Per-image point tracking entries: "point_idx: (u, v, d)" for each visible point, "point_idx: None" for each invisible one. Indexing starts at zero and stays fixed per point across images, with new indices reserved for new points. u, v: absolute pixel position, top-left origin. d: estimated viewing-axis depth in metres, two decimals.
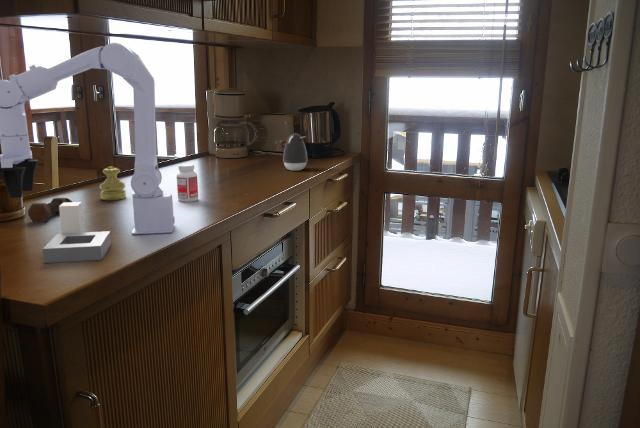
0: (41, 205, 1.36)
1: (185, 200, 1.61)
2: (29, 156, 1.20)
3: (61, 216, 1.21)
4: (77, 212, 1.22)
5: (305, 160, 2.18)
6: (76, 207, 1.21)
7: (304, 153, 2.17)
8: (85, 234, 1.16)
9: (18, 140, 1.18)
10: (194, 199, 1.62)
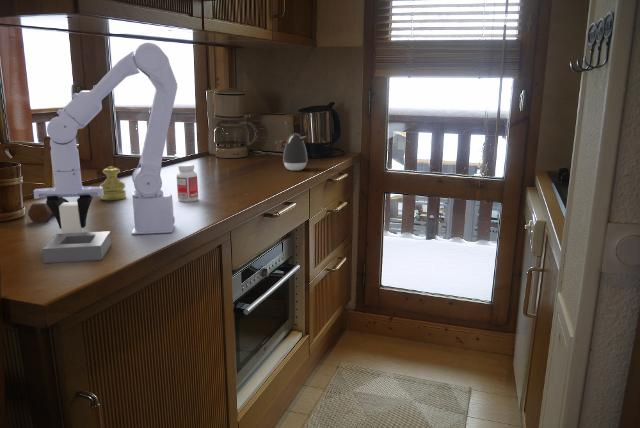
0: (42, 205, 1.36)
1: (185, 200, 1.61)
2: (61, 192, 1.19)
3: (61, 216, 1.21)
4: (77, 212, 1.22)
5: (305, 160, 2.18)
6: (76, 207, 1.21)
7: (304, 153, 2.17)
8: (85, 234, 1.16)
9: (53, 175, 1.19)
10: (194, 199, 1.62)
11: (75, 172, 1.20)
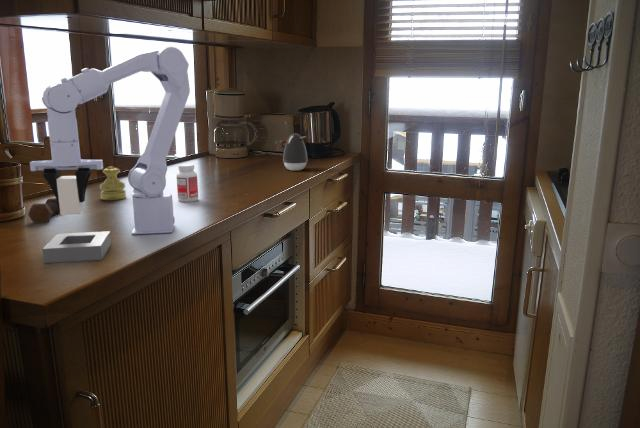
0: (43, 205, 1.36)
1: (185, 200, 1.61)
2: (58, 164, 1.13)
3: (59, 190, 1.16)
4: (75, 186, 1.16)
5: (305, 160, 2.18)
6: (74, 180, 1.16)
7: (304, 153, 2.17)
8: (85, 234, 1.16)
9: (51, 146, 1.13)
10: (194, 199, 1.62)
11: (73, 143, 1.14)
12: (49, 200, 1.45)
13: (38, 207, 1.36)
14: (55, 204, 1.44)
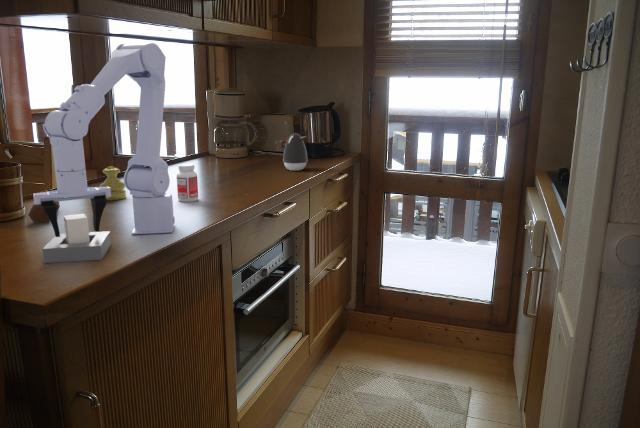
0: None
1: (185, 200, 1.61)
2: (70, 195, 1.07)
3: (69, 231, 1.09)
4: (86, 224, 1.11)
5: (305, 160, 2.18)
6: (85, 219, 1.11)
7: (304, 153, 2.17)
8: None
9: (59, 176, 1.06)
10: (194, 199, 1.62)
11: (83, 171, 1.09)
12: None
13: (39, 207, 1.35)
14: None
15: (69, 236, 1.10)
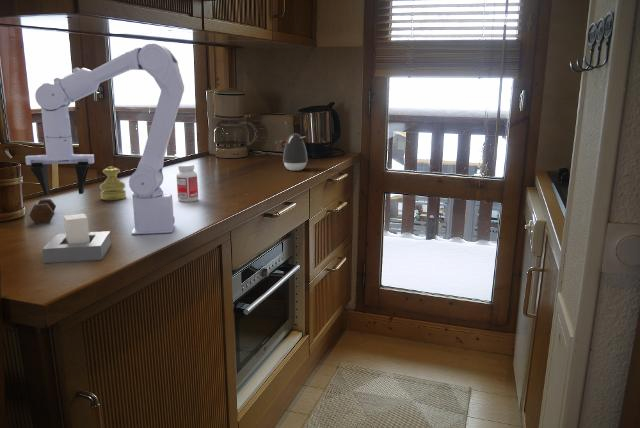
0: (45, 206, 1.36)
1: (185, 200, 1.61)
2: (52, 158, 1.21)
3: (69, 231, 1.09)
4: (87, 225, 1.11)
5: (305, 160, 2.18)
6: (85, 219, 1.11)
7: (304, 153, 2.17)
8: None
9: (45, 141, 1.21)
10: (194, 199, 1.62)
11: (66, 138, 1.22)
12: (42, 201, 1.44)
13: (40, 208, 1.35)
14: (49, 205, 1.43)
15: (69, 236, 1.10)
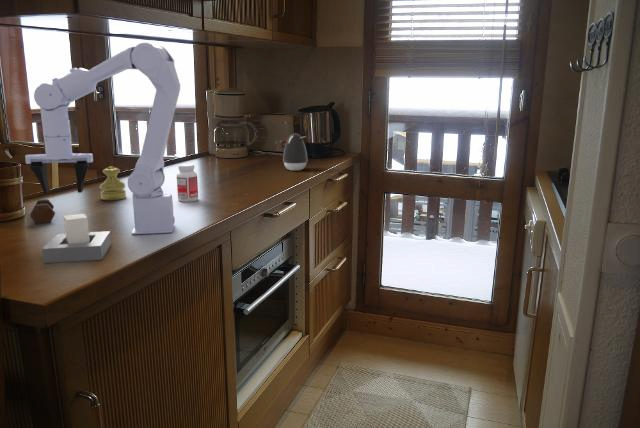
0: (46, 206, 1.36)
1: (185, 200, 1.61)
2: (52, 157, 1.23)
3: (69, 231, 1.09)
4: (87, 225, 1.11)
5: (305, 160, 2.18)
6: (86, 219, 1.11)
7: (304, 153, 2.17)
8: None
9: (44, 141, 1.23)
10: (194, 199, 1.62)
11: (65, 138, 1.24)
12: (40, 201, 1.43)
13: (41, 208, 1.35)
14: (48, 205, 1.43)
15: (69, 236, 1.10)
